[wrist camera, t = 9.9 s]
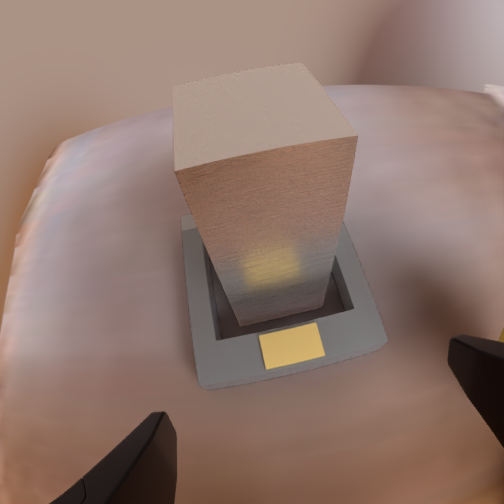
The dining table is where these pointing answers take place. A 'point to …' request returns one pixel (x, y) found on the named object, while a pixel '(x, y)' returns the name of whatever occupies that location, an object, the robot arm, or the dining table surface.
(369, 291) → the plate
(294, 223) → the rectangular block post
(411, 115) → the dining table surface
